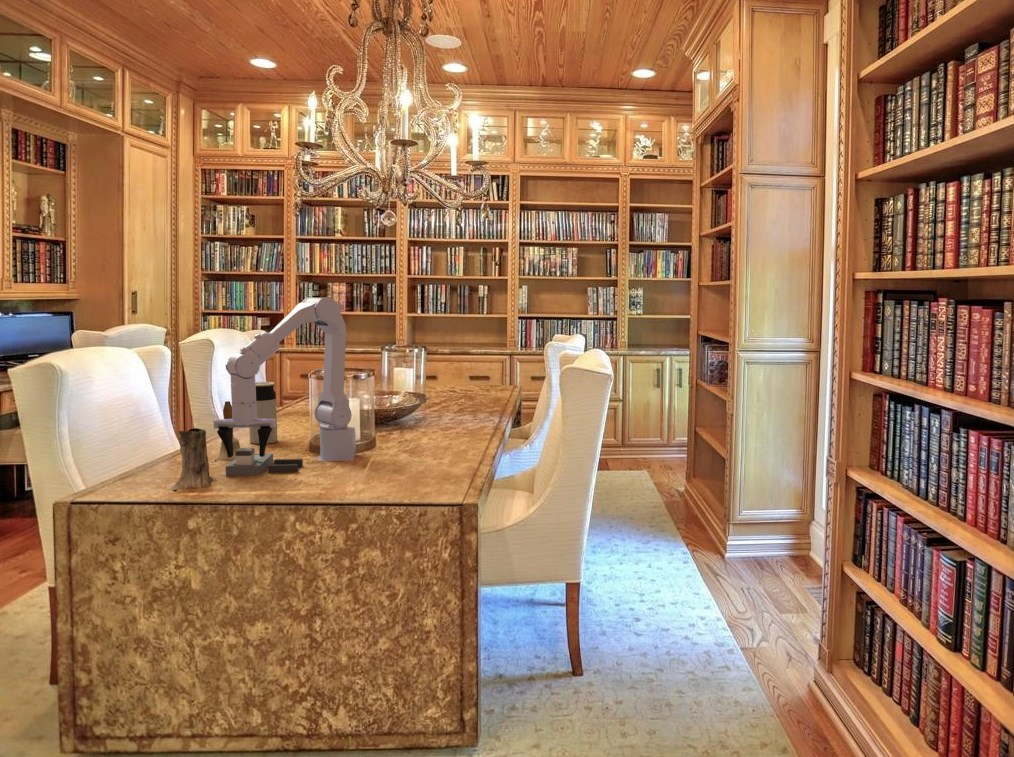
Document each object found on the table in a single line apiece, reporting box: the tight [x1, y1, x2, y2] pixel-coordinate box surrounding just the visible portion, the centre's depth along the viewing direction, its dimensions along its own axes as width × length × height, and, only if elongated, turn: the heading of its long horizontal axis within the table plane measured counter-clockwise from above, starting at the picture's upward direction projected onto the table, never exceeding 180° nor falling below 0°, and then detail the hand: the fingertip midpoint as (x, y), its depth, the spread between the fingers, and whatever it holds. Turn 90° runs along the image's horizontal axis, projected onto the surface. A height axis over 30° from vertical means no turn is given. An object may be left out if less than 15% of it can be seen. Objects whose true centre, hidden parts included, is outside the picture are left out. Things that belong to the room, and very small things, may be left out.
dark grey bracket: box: [267, 458, 304, 474], centre depth 183 cm, size 7×7×2 cm
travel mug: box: [248, 381, 278, 445], centre depth 218 cm, size 8×8×18 cm
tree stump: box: [171, 427, 218, 491], centre depth 168 cm, size 10×10×14 cm
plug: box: [236, 447, 255, 465], centre depth 179 cm, size 4×4×6 cm
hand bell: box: [214, 400, 241, 462], centre depth 195 cm, size 8×8×16 cm
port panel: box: [225, 452, 274, 477], centre depth 183 cm, size 8×14×3 cm, turn 5°
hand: (246, 456), depth 179 cm, fingers open, 7 cm apart
